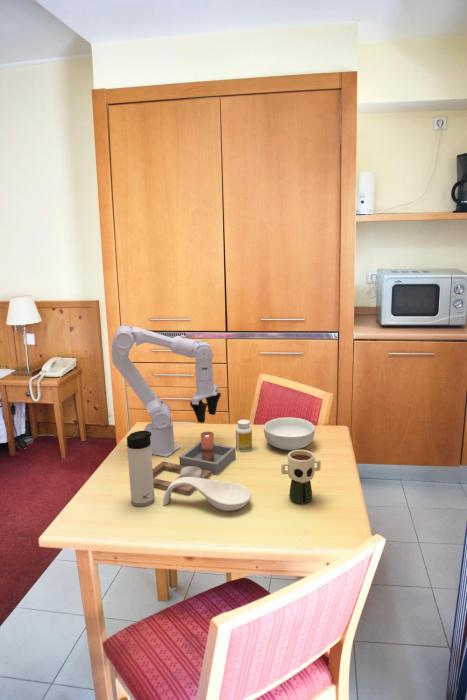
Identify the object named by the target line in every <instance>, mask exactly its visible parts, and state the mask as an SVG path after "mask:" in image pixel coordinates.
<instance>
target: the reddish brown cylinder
mask: <svg viewBox="0 0 467 700" xmlns="http://www.w3.org/2000/svg"><path fill="white" fill-rule="evenodd" d="M200 441H201V453H202V460H205V461H210V462H214V444H215V434H214V432H212V431H203V432H201V433H200Z"/></svg>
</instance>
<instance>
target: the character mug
mask: <svg viewBox="0 0 467 700" xmlns="http://www.w3.org/2000/svg"><path fill="white" fill-rule="evenodd" d="M315 458H316V457H315V454H314V453H313V452H312V451H310V450H307V449H297V450H290V452H288V453H287V462H282V463H281V466H280V467H281V468H280V471H281V475H288V477H289V479H290V480H291V481H290V486H289V494H288V495H289V499H290V500H291V501H292V502H295V503H296V504H303V501H304V500H305V503H309V502H311V501H312V500H313V491H312V482H311V480H313V478H314V477H315V472H319V471H321V464H322V463H321V459H319V458H317V459H315ZM315 464H316V467H315ZM286 467H287V469H286Z"/></svg>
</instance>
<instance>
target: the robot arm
mask: <svg viewBox="0 0 467 700" xmlns="http://www.w3.org/2000/svg"><path fill="white" fill-rule="evenodd" d="M134 344H135V346H136V347H137V346H140V345H143V344H151V345H154V346H155V345H156V346H159V347H164V348H167V349H170V350H171V352H172V354H175V355H179V356H183V357H187V358H190V359H193V358H194V359H195V366H194V371H195V386H196V387H195V388H196V391H195V393H194V396H193V397H192V398H191V401H189V406H190V407H191V409H192V410H193V411H194V414H195V416H196V420H197V423H200V424H204V423H205V421H206V410H207V412H208V414H209V415H211V416H215V415H216V412H217V407H218V403H219V400H220V398H221V395H222V393H221V392H219V386H218V385H216V384H215V385H214V382H215V381H214V365H213V357H214V352H213V350H212V347H211V345H210V344H209V343H208V342H206V341H204V340H199V339H196V340H195V339H191V338H187V337H186V335H183V334H181V336H180V335H176V336H175V337H169V336H166V335H163V334H160V333H157V332H154V331H151V330H147V329H146V328H145V329H144V328H141V327H138V326H131V325H128V324H123V325H120V326H118V327H117V328H116V330H115V333H114V335H113V339H112V341H111V359H112V364H113V366H114V367H115V368H116V369H117V371H118V372H119V373H120V375H121V376H122V377H123V379H124V380H125V381H126V382H127V384H128V385H129V387H130V388H131V389H132V390H133V392H134V394H135V395H136V396H137V398H138V399H139V401H141V403H142V405H144V407H145V409H146V411H147V414H148V415H149V417H150V419H151V423H148V424H146V425H145V427H144V428H143V429H144V430H143V431H149V432H151V436H150V441H151V453H152V455H155V456H159V457H160V456H161V457H165V458H166V457H170V456H171V455H172V454H173V453H175V452H176V451H177V450H179V449H180V446H179V445H175V438H174V437H175V436H174V423H173V421H172V414H171V413H172V410H171V406H170V404H168V403H167V402H165V401H163V400H162V399H161V398H160V396H158V395H157V394H156V393H155V392H154V390H153V389H152V387H151V386H150V385H149V384H148V382H147V381H146V380H145V378H144V377H143V375H142V373H140V371H139V370H138V368H137V367H136V366H135V364H134V363H133V362H132V360H131V359H130V357H129V355H130V351H131V350H132V348H133V346H134ZM203 400H205V402H203Z"/></svg>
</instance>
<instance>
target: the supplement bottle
mask: <svg viewBox="0 0 467 700" xmlns="http://www.w3.org/2000/svg"><path fill="white" fill-rule="evenodd" d="M250 422H251V421H250V420H249V419H239V420H238V421H237V426H236V428H235V448H236V450H237V451H239V452H244V453H245V452H249V451H251V450H252V447H253V429H252V427H251V426H250V424H251V423H250Z"/></svg>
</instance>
